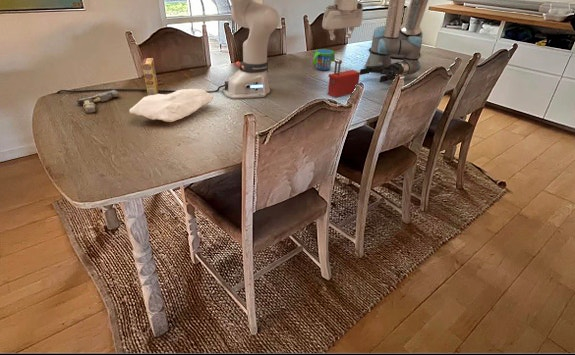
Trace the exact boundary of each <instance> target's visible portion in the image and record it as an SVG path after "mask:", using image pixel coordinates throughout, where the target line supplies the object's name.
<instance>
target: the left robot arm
mask: <svg viewBox="0 0 575 355" xmlns="http://www.w3.org/2000/svg"><path fill="white" fill-rule="evenodd" d="M229 2H230V4H231V10H230V16H231V20H232V21H233V22H234V23H235V24H236V25H238V26H240V27H241V28H243V29H249V31H248V32H249V33H248V37H247V39H246V40H244V41H243V43H242V59H243V60H242V61H236V62H235V65H236V66H237V67H239V69H237V71H236V72H235V73H234V74H232V75H231V76H230V77H229V78H228V81H227V80H225V81H224V84H223V85H220V86H218V88H217V89H215V90H211V91H209V90H207V91H206V90H205V91H206V92H208V93H210V94H212V93H217V92H219V91H220V89H221V88H223V91H222V92H223V94H224V95H225V96H226V97H228V98H230V99H233V100H236V99H237V100H238V99H239V100H240V99H253V98H254V99H255V98H264V97H266V95H268V94H269V93H270V92H271V88H270V84H269V78H268V76H269V75H268V72H269V61H268V45H269V40H270V37H271V35H272V33H273V32H274V31H275V30H276V29H277V28H278V26H279V23H280V15H279V12H278V10H277V9H276V8H274V7H273V6H270V5H269V4H265V3H260V2H256V0H229ZM363 9H364V4H363V3H362V2H360V1H358V0H333V5H327V7H325V9H324V12H323V16H322V18H323V19H322V23H321V28H322V29H324V30H326V31H328V33H329V40H331V41H335V40H336V35H335V30H340V29H341V30H342V29H348V31H347V33H345V38H346V39H351V38H352V33H353V32H354V30H355V28H359V27H361V26H362V23H363ZM112 90H115V91H117V92H118V91H120V92H121V91H123V92H124V91H128V92H129V91H137V92H147V88H146V89H145V88H143V89H141V88H140V89H139V88H102V89H101V88H99V89H98V88H97V89H84V90H83V89H80V90H69V89H59V90H57V91H56V93H55V94H57V95H58V94H59V93H62V92H66V93H85V92H86V93H87V92H108V91H112ZM158 90H159V92H161V93H162V92H163V93H173V92H175V91H176V90H167V89H166V90H165V89H158ZM159 92H158V93H159Z"/></svg>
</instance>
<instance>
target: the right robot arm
mask: <svg viewBox="0 0 575 355" xmlns="http://www.w3.org/2000/svg"><path fill="white" fill-rule="evenodd" d="M405 2H406V0H389V1H388V7H387V13H386V18H385V19H386V20H385V25H380V26H377V27H376V28H374V30H373V33H372V41H371V47H370V48H371V52H370V51H369V52H370V53H369V56H368V57H367V60H366V61H365V65H364V66H365V67H364V68H360V70H359V72H360V76H362V75H369V74H370V73H372V74H380V78H379V83H385V82H388V81H394V79H395V76H396V74H404V76H409V75H413V74H416V73H417V72H419V71H420V69H421V67H422V65H421V61H420V60H419V57H420V56H419V54H420V55H421V50H422V45H423V34H424V32H423V31H422V28H421V24H422V21H423V18H424V14H425V11H426V9H427V6H428V3H429V0H410V2H409V5H408V8H407V12H406V16H405V19H404V22H403V23H402V19H403V13H404V7H405V4H406V3H405ZM390 55H404V58H403V60H402V61H397V62H392V59H391V58H392V57H390Z"/></svg>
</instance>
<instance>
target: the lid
mask: <svg viewBox="0 0 575 355" xmlns="http://www.w3.org/2000/svg"><path fill="white" fill-rule="evenodd" d="M342 63H343V60H341V59H339V58H335V60H334V71H333V73H328V78H329V77H331V78H333V79H335V80H336V79H341V78H346V77H351V76H356V75H360V71H357V70H355V69H350V70H345V71H341V64H342ZM360 76H361V75H360Z"/></svg>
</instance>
